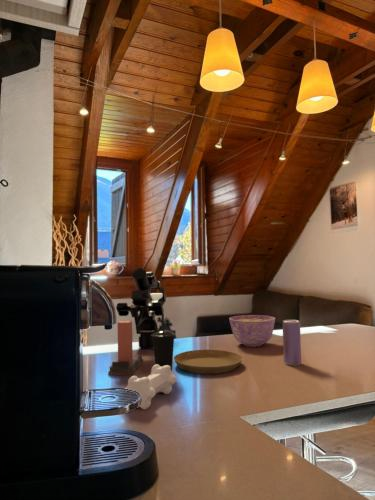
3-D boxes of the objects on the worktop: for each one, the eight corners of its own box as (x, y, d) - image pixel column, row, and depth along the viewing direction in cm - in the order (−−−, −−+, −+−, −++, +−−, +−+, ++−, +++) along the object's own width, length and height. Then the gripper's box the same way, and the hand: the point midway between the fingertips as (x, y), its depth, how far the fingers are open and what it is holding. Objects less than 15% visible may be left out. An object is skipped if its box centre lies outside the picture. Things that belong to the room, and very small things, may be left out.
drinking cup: (169, 381, 115) (167, 316, 116) (147, 378, 118) (146, 315, 119) (180, 374, 122) (178, 312, 123) (159, 372, 125) (158, 312, 126)
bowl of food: (225, 348, 157) (224, 321, 157) (234, 339, 176) (233, 314, 176) (274, 351, 151) (273, 322, 151) (278, 340, 170) (277, 315, 170)
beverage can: (297, 366, 127) (296, 322, 128) (281, 364, 131) (279, 321, 131) (303, 362, 132) (302, 320, 133) (287, 360, 136) (286, 319, 136)
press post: (121, 363, 132) (120, 320, 133) (134, 363, 132) (133, 320, 132) (116, 367, 127) (115, 322, 128) (130, 367, 127) (129, 322, 127)
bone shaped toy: (153, 391, 108) (150, 363, 109) (179, 392, 105) (176, 362, 105) (123, 410, 95) (119, 377, 95) (152, 411, 91) (148, 378, 92)
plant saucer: (247, 359, 139) (247, 350, 140) (235, 379, 117) (235, 368, 117) (186, 356, 147) (185, 347, 147) (163, 374, 124) (163, 363, 124)
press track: (122, 361, 139) (122, 351, 140) (143, 362, 139) (143, 351, 139) (108, 374, 124) (108, 362, 124) (131, 374, 123) (131, 362, 123)
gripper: (117, 283, 153) (108, 314, 142) (161, 282, 151) (156, 313, 139) (123, 300, 161) (115, 331, 149) (165, 299, 158) (161, 330, 147)
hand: (136, 326), depth 146 cm, fingers closed
